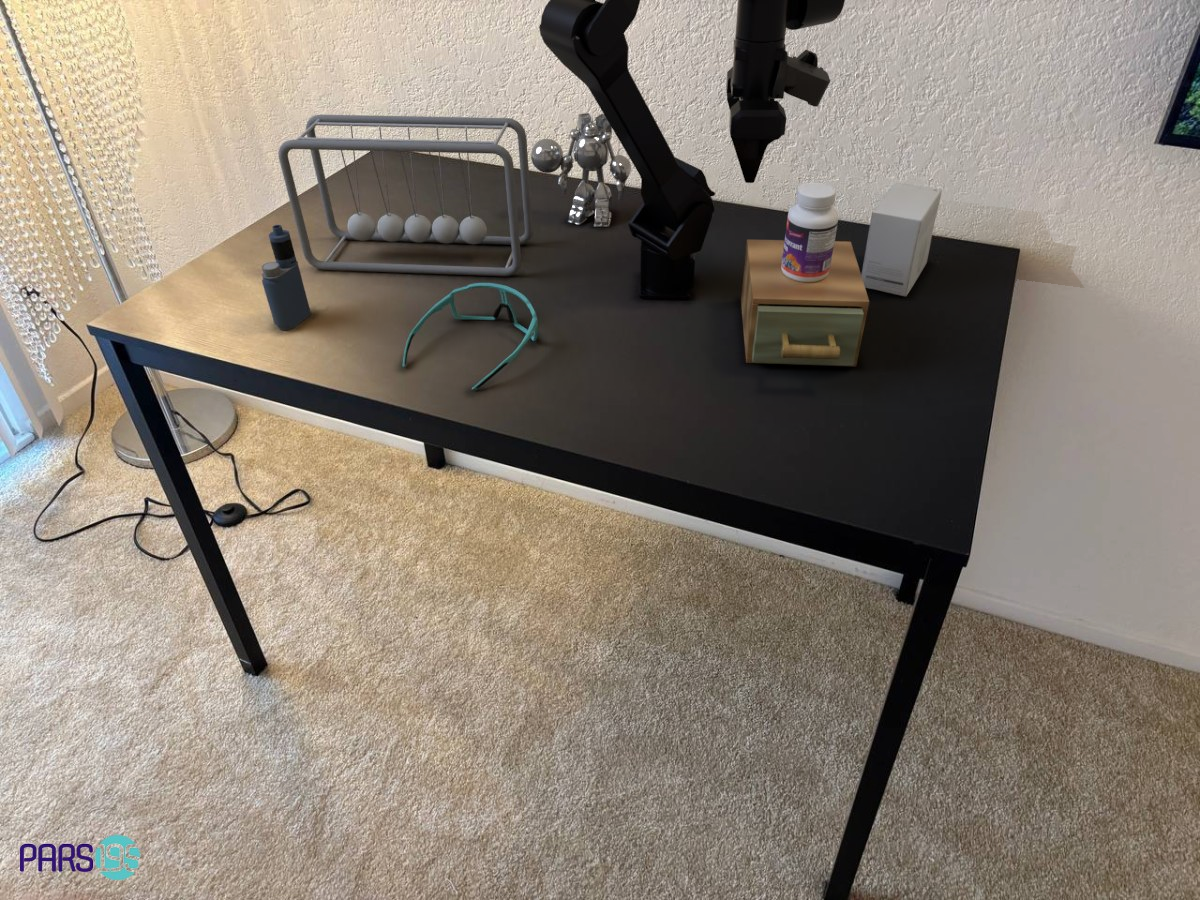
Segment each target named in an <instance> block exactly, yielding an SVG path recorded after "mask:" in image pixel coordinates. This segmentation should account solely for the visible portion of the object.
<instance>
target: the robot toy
mask: <svg viewBox="0 0 1200 900" xmlns="http://www.w3.org/2000/svg"><path fill="white" fill-rule="evenodd" d="M577 117H578V118H577V120H576V124H577V125H576V127H575V128H573V129H571V130H570V132H569V136H570V138H571V140H570V143H569V148H568V151H567V154H565V155H564V151H563V148H562V146H561V145H560V144H559V143H558V142H557V141H556V140H554V139H551V138H542V139H540V140H538V141H536V142H535V144H534V145H533V146H532V148H531V152H530V160H531V163H532V165H533V166H534V168H535V169H537V170H538V171H539V172H541V173H545V174H551V173H554V172H556V171H557V170H558V169H560V170H561V172H560V173H559V176H558V183H557V185H558V186H559V187H560V191H561V193H562V194H563V195H565V196H566V195H567V179H568V177H569V173H570V172H571V171H572V169H573V167H574V162H575V163H577V165H578V166H579V167H580V168H582V175H581V181H580V182H579V184H578V185H577V187H576V189H575V191H574V194H573V198H572V206H571V209H570V211H569V213H568V220H567V222H568V223H569V224H573V225H577V226H580V225H582V224H583V223H585V222H586V221H587V220H588V218H589V217H591V216H593V215H594V224H593V227H594V228H600V227H601V228H602V227H603V228H607V227H610V224H611V222H612V212H611V211H610V205H611V202H612V201H613V196H612V195H613V194H612V190H611V188H610V187H609V186H608V185H606V184H605V175H604V166H605V165H607V163H608V161H609V156H610V163H609V172H611V175H612V177H613V179H614V180H615V183H616V185H615V186H616V188H617V191H618V193H617V194H618V197H617V198H618V200H617V201H622V200H623V196H624V194H625V189H626V181H628V178H629V177H630V175H631V173H632V172H631V171H632V164H631V163H632V162H631V160H629V159H628V158H627V157H626V156H625V155H622V154H616V155H615V153H614V149H613V145H612V142H611V140H612V138H613V129H612V127H611V125H610V124H609V122H608V120H607V119H606V117H605V115H604V113H600V114H599V115H597V116H596V117H594V116H593V115H592V116H591V114H590V113H589V112H585V113H579V114H578V115H577ZM594 118H595V119H594ZM594 121H595V122H594ZM572 155H573V156H572ZM590 172H596V179H597V187H596V188H595V189H594V187H593V186H592V185H591V184H589V179H590ZM593 201H594V210H593V209H592V208H591V206H590V205H591V204H592V202H593Z"/></svg>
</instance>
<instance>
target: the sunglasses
mask: <svg viewBox="0 0 1200 900" xmlns="http://www.w3.org/2000/svg"><path fill="white" fill-rule="evenodd" d="M480 288H481V289H484V288H487V289H496V290H498V291H499V294H500V298H501V302H500V303H499V304H498V306H497V308H496V309H495V310H494V312H493V315H492V316H486V315H485V316H482V315H463V314H458V312H457V309H456V305H455V294H456V293H457V294H458V293H460V292H463V291H468V290H470V289H480ZM507 293H510V294H512V295H514V296H516V297H518V298H519V299H520V300H521V301H522V302H524V303H525V305H526V306H527V308H528V310H529V311H530V314H531V316H532V318H531V321H530V324H529V326H528V329H527V328H525V327H524V326H522V325H521V324H520V323H518V320H517V316H516V314H515V311H514V307H513V306H512V304H511V302H510V301H509V298H507V296H508V294H507ZM448 305H450V309H451V312H452V313H451V314H452V315H453V318H454V319H455V320H476V321H477V320H479V321H482V320H484V321H496V320H497V319H498V318H499V316H500V314H501V312H502V310H503V308H504V309H506V313H507V317H508V321H509V322H510V323H512V324H513V325H514V327H516V328H517V329H519V330H520V331H521V332H523V333H524V334H525V335H524V337H523V339H522V341H521V343H519V345H518V346H517V348H516V349H515V350H514V351H513V352H512V353H511V354H510V355H508V356H507V357H506V358H505V359H503V361H501V363H500V364H498V365H497V366H496V368H494V369H493V370H492V371H490V373H488V374H487V375H486V376H485V377H483V378H482V379H481V380H479V382H477V383H476V384H475V385H474V386H473V387H471V390H472V391H477V390H478V389H480V388H482V387H483V386H484V385H485V384H486V383H488V382H489V381H490V380H491V379H492V378H494V377H495V376H496V375H497V374H498V373H499V372H501V371H502V370H503V369H504V368H505V367H506V366H507V365H509V364H510V363H511V362H512V361H514V359H515V358H516V357H517V356H518V355H519V353H520V352H521V351H522V349H523V348H524V346H525V345H526V344H527V343H528V342H529V340H530V339H531V340H532V342H536V341H537V339H538V334H539V321H538V316H537V313H536V310H535V308H534V306H533V304H532V303H531V302H530V301H529V299H528V298H527V297H526V295H524V294H523V293H521V292H519V291H518V290H516V288H515V289H514V288H512V287H510V286H508V285H504V284H499V283H493V282H476V283H475V282H474V283H470V284H467V285H466V286H461V287H457V288H455V289H453V290H452V291H451V292H450V293H449V294H447V295H446V296H444V297H443V298H442V299H440V300H439V301H438V302H436V303H435V304H434V305H433V306H432V307H431V308H430V309H429V310H428V311H427V312H426V313H425V314H424V315H423V317H421V318H420V320H419V321H418V322H417V324H416V325H414V327H413V328H412V330H411V331H410V333H409V335H408V338H407V340H406V343H405V347H404V352H403V359H402V368H406V367H407V361H408V354H409V349H410V347H411V344H412V341H413V339H414V337H415V336H416V334H417V333H418V332H419V331H420V329H421V328H422V327H423V325H424V324H425V322H426V321H427V320H428V319H429V318H430V317H431V316H432V315H434V314H435V313H437V312H441V311H443V309H444V308H446V307H447V306H448Z"/></svg>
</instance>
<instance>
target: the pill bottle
mask: <svg viewBox="0 0 1200 900" xmlns="http://www.w3.org/2000/svg"><path fill="white" fill-rule="evenodd" d="M796 191H797V192H796V197H795V198H796V199H795V200H796V203H795V204H793V205H792V206H791V207H790V208H789V210H788V213H787V217H786V218H787V219H786V225H785V232H784V233H785V235H784V240H785V241H784V248H783V256H782V265H781V269H782V272H783V273H784V274H785V275H786V276H787V277H789V278H791V279H793V280H796V281H801V282H815V281H819V280H822V279H824V278H825V277H827V275H828V274H829V270H830V265H831V260H832V254H833V248H834V242H835V241H836V235H837V230H838V225H839V217H840V216H839V212H838V210H837V209H836V208H835V207H834V205H835V202H836V196H837V195H836V193H837V191H836V188H835V187H834V186H832V185H831V184H827V183H824V182H814V181H813V182H805V183H803V184H801V185H799V186H798V187H797V190H796Z"/></svg>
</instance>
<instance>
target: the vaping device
mask: <svg viewBox="0 0 1200 900" xmlns="http://www.w3.org/2000/svg"><path fill="white" fill-rule="evenodd" d="M268 239H269V242H270V246H271V249H272V252H273V256H274V259H275V261H269V262H266V263H264V264H263V265H262V266H261V269H262V273H261V277H262V279H261V283H262V286H263V290H264V294H265V296H266V300H267V304H268V306H269V310H270V314H271V317H272V320H273V323H274V325H275V326H276V327H277V329H278V330H282V331H290V330H292V329H294V328H296V327H297V326H298V325H299V324H301V323H302V322H304V321H305V320H306V319H307V318H309V317H310V316H311V315H312V312H311V309H310V305H309V301H308V297H307V293H306V289H305V285H304V282H303V278H302V277H303V276H302V274H301V270H300V269H301V268H300V266H299V261H297V256H296V254H295V249H294V246H293V242H292V238H291V234H290V231H289V230H287V229H283V226H282V224H274V225H273V226H272V231H271V232H270V233H269V234H268Z"/></svg>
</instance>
